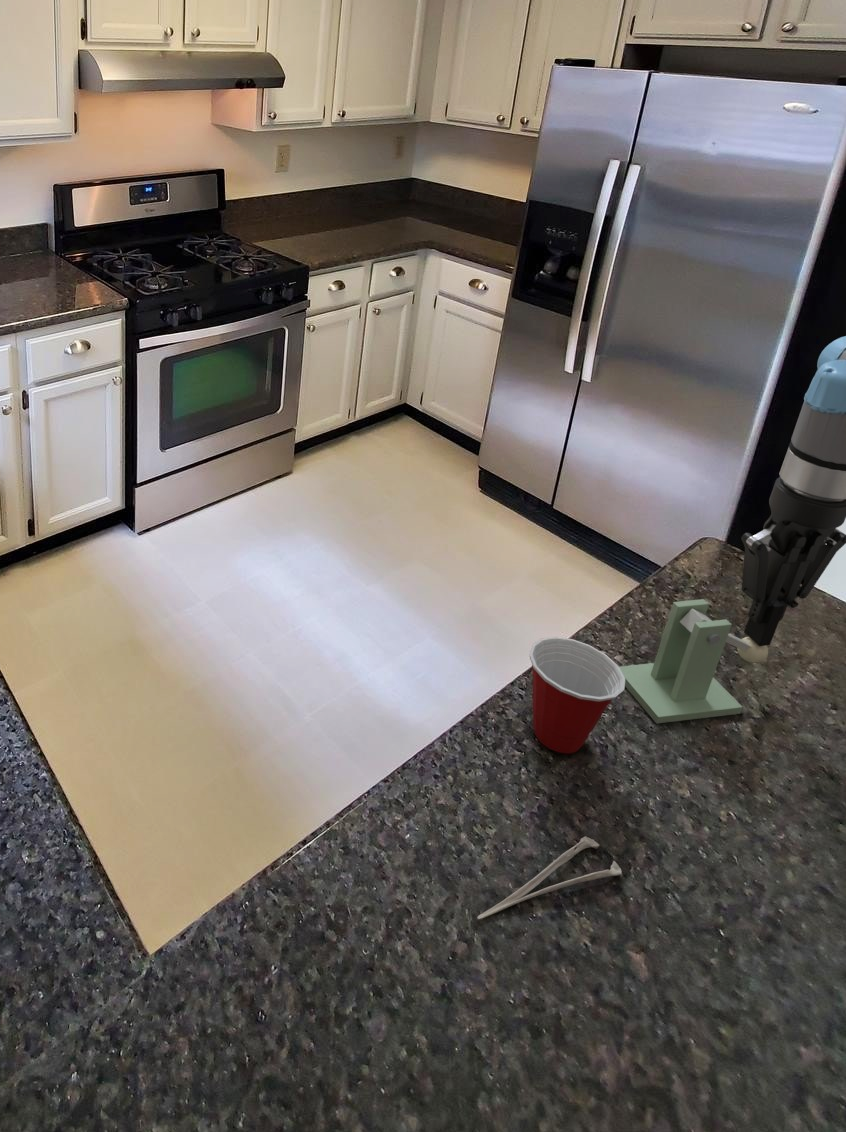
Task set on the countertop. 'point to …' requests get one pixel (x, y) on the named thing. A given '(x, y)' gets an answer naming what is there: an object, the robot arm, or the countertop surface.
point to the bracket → (684, 670)
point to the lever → (730, 639)
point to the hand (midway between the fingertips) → (756, 638)
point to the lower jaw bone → (565, 857)
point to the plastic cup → (570, 691)
